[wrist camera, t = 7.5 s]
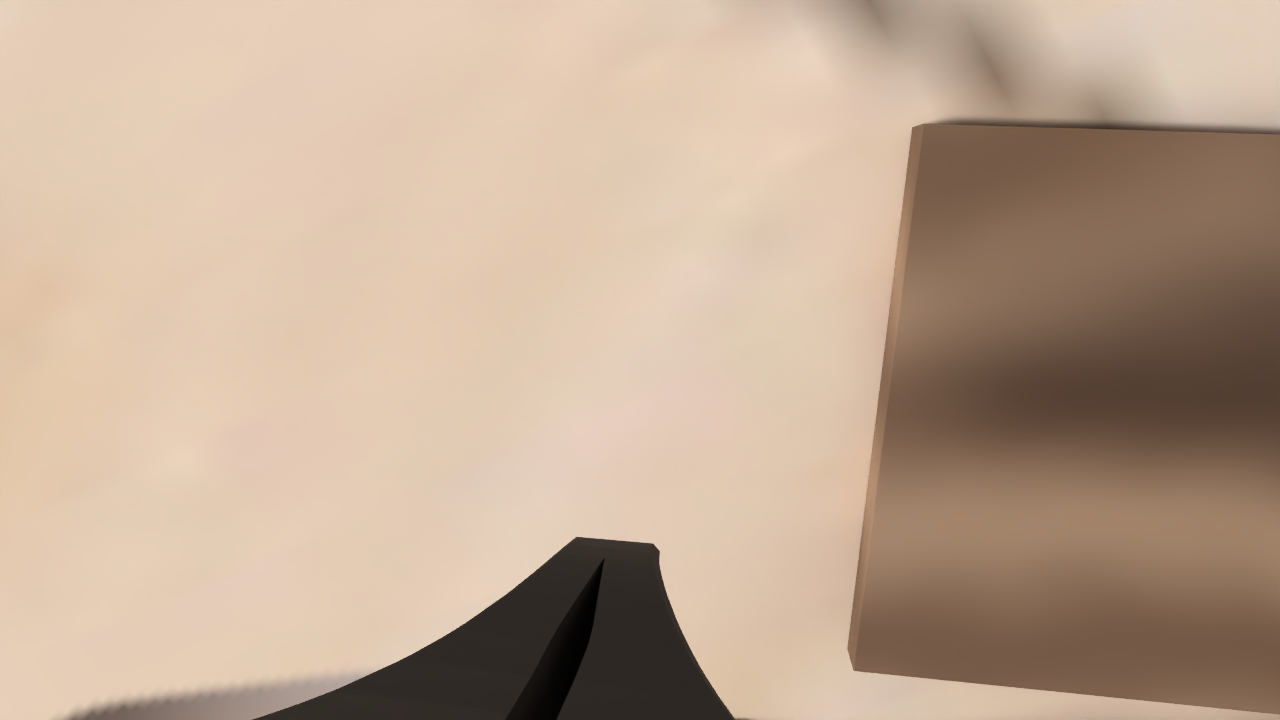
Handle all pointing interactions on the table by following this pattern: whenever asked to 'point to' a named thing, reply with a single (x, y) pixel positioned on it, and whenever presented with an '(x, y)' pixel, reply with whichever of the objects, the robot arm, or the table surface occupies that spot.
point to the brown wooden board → (1080, 418)
